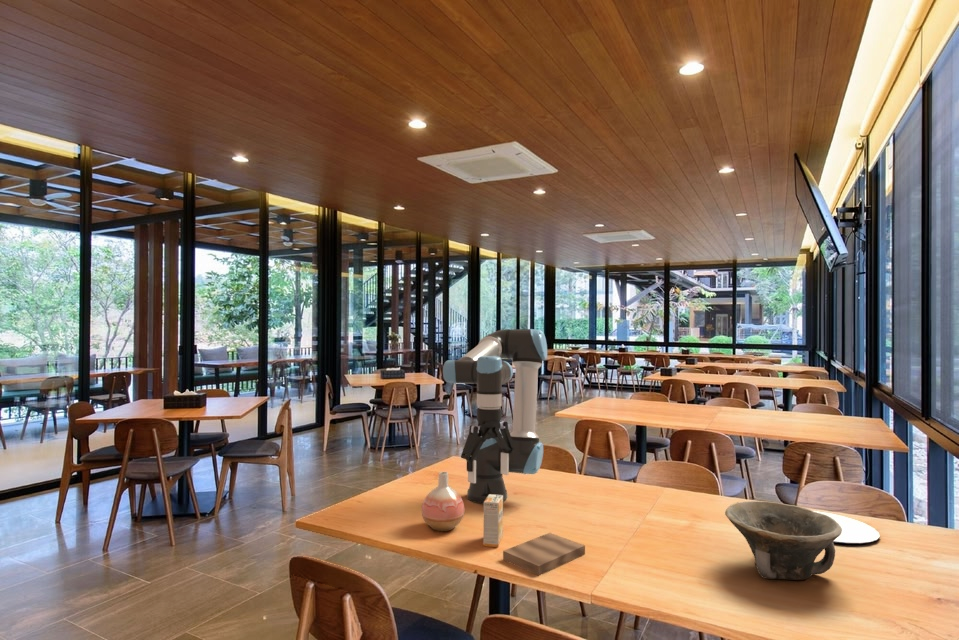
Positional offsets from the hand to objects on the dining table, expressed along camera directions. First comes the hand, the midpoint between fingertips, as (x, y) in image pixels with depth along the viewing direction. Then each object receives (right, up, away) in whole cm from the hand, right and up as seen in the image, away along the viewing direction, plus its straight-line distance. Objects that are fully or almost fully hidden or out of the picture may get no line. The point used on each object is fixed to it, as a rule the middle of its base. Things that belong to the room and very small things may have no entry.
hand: (488, 478), depth 163 cm
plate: (+109, -20, +12) cm, 111 cm away
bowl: (+77, -19, -20) cm, 82 cm away
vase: (-14, -19, +11) cm, 27 cm away
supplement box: (+1, -19, 0) cm, 19 cm away
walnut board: (+16, -19, -11) cm, 27 cm away
